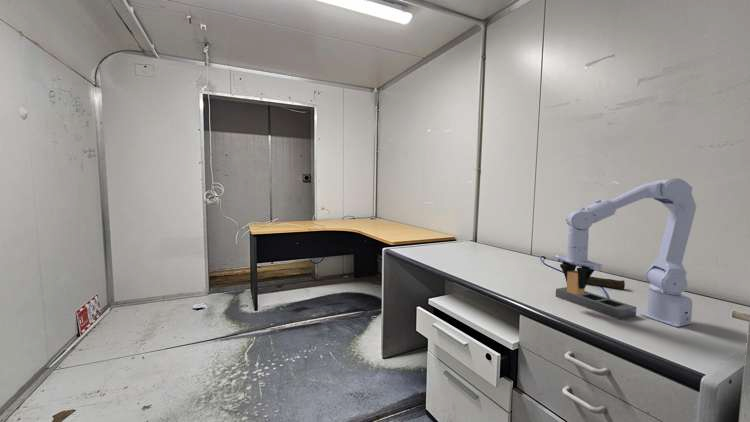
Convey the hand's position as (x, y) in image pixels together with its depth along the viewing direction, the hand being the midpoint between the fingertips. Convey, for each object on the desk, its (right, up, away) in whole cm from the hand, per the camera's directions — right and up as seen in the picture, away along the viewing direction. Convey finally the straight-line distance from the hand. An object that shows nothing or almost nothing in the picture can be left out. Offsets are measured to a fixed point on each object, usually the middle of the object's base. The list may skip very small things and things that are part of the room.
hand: (575, 286), depth 101 cm
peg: (0, -2, 0) cm, 2 cm away
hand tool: (+26, -7, +26) cm, 38 cm away
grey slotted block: (+8, -8, +4) cm, 12 cm away
